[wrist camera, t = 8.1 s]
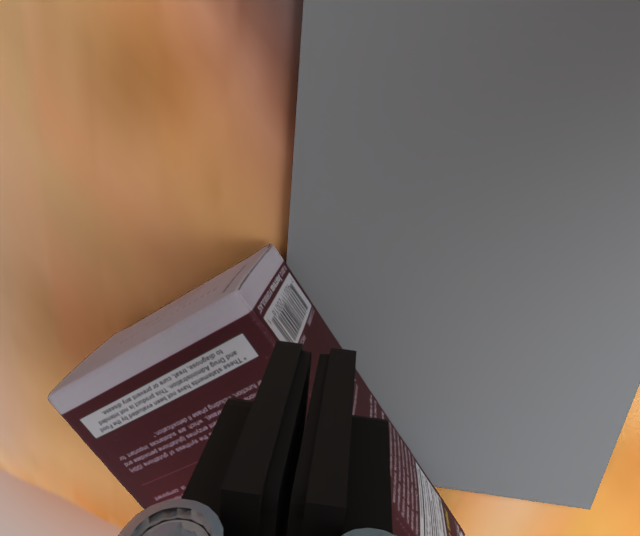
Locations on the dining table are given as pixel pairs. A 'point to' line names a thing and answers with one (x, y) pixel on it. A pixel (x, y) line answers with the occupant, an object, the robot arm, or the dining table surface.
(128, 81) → the dining table surface
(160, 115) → the dining table surface
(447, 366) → the mat
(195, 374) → the supplement box
